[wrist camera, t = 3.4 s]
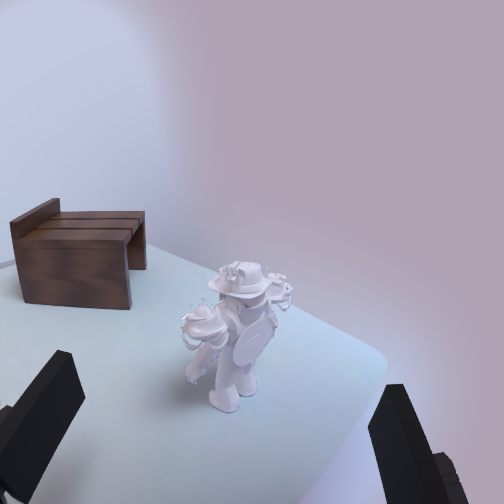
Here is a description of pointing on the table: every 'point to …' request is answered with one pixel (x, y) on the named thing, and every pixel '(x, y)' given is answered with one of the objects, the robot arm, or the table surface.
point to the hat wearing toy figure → (235, 330)
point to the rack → (78, 255)
